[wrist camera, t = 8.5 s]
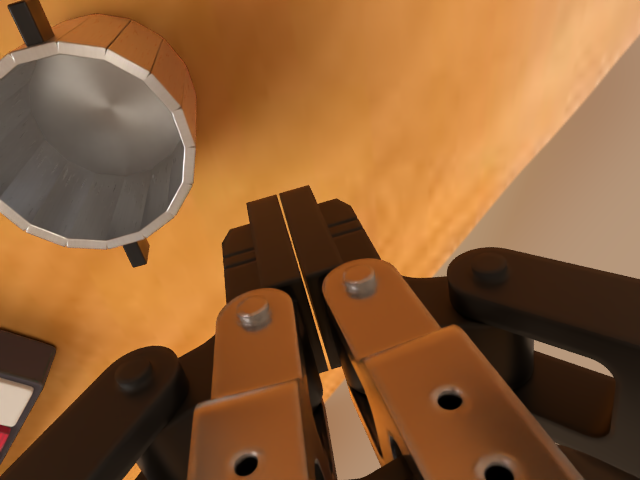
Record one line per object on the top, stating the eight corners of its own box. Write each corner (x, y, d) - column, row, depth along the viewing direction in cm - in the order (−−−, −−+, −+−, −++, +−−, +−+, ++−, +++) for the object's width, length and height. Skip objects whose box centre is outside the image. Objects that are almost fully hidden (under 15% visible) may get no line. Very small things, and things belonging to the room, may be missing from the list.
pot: (134, -27, 19) (-114, 35, 19) (230, 244, 26) (45, 297, 25) (152, -36, 27) (-24, 8, 26) (223, 174, 33) (81, 213, 33)
